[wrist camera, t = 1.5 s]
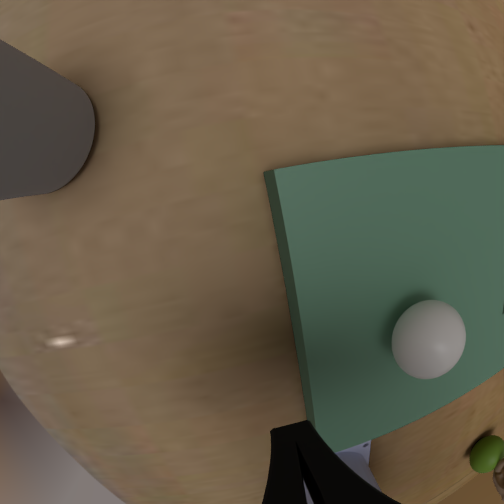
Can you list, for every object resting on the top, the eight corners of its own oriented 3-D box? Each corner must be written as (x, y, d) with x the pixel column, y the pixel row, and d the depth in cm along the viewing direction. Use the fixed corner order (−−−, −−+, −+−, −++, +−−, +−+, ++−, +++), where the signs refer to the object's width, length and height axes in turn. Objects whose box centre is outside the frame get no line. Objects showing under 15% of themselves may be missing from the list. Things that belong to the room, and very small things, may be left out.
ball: (433, 341, 15) (473, 374, 11) (378, 364, 15) (413, 406, 11) (437, 280, 14) (486, 306, 10) (377, 301, 14) (421, 337, 10)
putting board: (520, 328, 21) (539, 339, 18) (308, 429, 19) (319, 457, 16) (527, 145, 16) (551, 145, 13) (263, 171, 15) (273, 169, 12)
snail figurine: (456, 466, 26) (495, 518, 14) (468, 441, 24) (515, 497, 13) (483, 448, 26) (523, 494, 14) (496, 421, 25) (543, 469, 13)
